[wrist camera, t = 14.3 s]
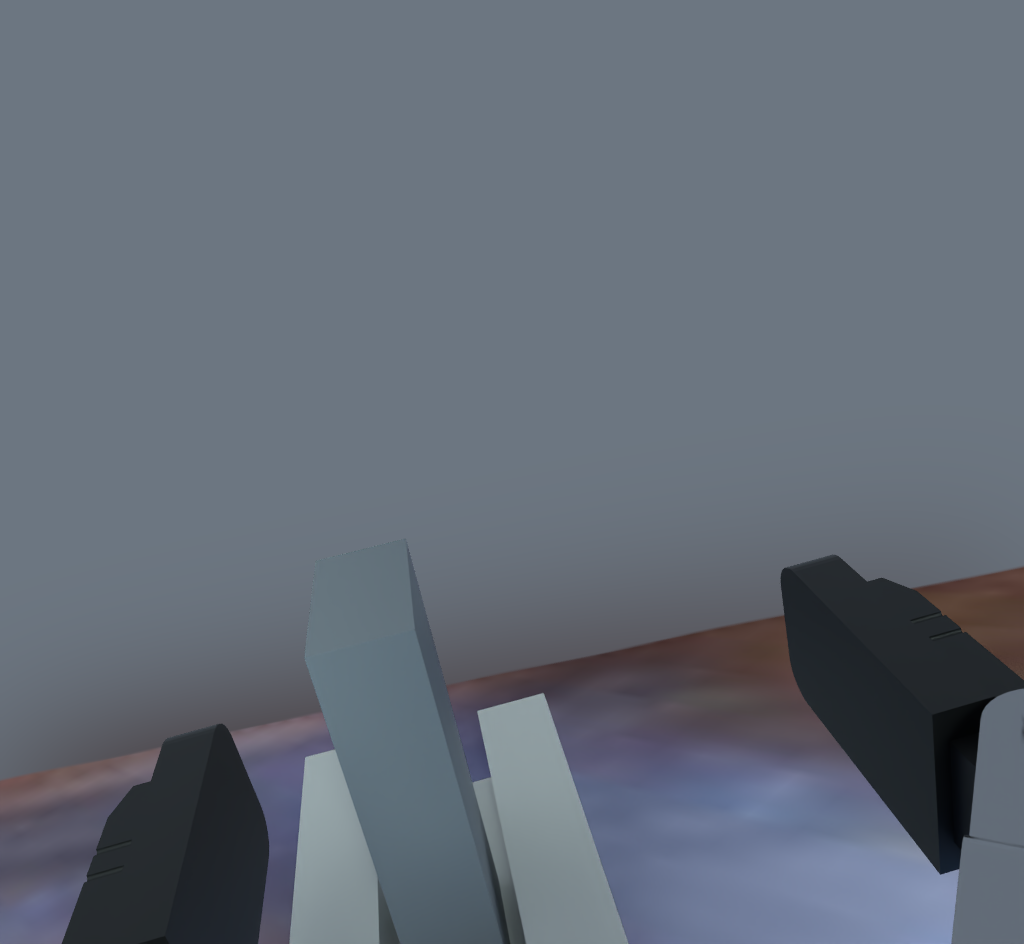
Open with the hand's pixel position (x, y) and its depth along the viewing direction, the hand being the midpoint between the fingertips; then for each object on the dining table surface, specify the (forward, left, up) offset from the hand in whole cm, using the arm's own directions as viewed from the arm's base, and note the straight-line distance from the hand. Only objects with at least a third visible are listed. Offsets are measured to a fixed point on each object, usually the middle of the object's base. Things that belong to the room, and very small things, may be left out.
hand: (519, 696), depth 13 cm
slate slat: (+3, -14, -20) cm, 24 cm away
